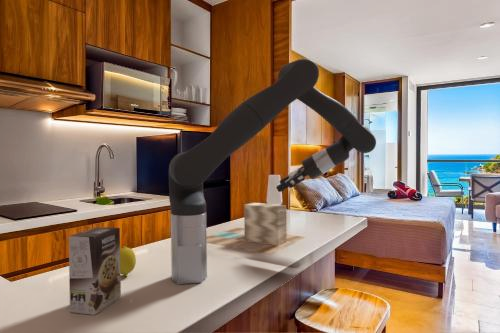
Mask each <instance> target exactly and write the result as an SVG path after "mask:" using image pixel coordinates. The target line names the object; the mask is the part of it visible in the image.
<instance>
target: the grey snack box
mask: <svg viewBox="0 0 500 333" xmlns="http://www.w3.org/2000/svg"><path fill="white" fill-rule="evenodd" d="M120 229H121V228H120V227H109V226H108V227H106V226H105V227H104V226H103V227H93V228H90V229H87V230H84V231H80V232H78V233H73V234H70V235H68V257H69V258H68V263H69V264H68V265H69V266H68V267H69V269H68V270H69V271H68V272H69V273H68V274H69V275H68V276H69V278H68V279H69V284H68V285H69V312H70V313H76V314H85V315H91V316H94V315H97V314H99V313H100V312H101V311H103V310H104V309H106V308H107V307H108V306H110V305H112V304H113V303H115V301H118V300H119V299H120V298H121V297H122V291H121V289H122V288H121V284H122V283H121V279H122V278H121V274H120V249H121V238H120V235H121V234H120V233H121V232H120V231H121V230H120Z"/></svg>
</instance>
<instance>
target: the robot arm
mask: <svg viewBox="0 0 500 333" xmlns="http://www.w3.org/2000/svg"><path fill="white" fill-rule="evenodd" d="M319 76H320V70H319V66H318V65H317V64H316V62H314V61H313V60H311V59H308V58H299V59H296V60H293V61H291V62H288V63H286V64H284V65H283V66H282V67H281V68H280V69H279V71H278V75H277V80H276V81H275V82H274V83H273V84H270V86H267V87H266V88H264V89H261V90H260V91H259V92H257V93H254V94H253V95H252V96H250V97H248V98H246V99H245V100H244V101H242V102H241V103H240V104H239V105H238V106H236V107H235V108H234V109H233V110H232V111H230V113H228V114H227V115H226V116H225V117H224V118H223V120H221V121H220V123H219V124H218V125H217V127H216V128H215V129H214V130H213V132H211V133H210V135H209V136H207V137H206V138H205V139H204V140H202V141H201V142H199V143H198V144H196V145H195V146H193V147H192V148H190V149H189V150H187V151H185V152H180V153H177V154H175V155H174V156H173V158H172V159H170V163H169V165H168V194H169V196H168V198H169V204H170V206H169V207H170V247H171V249H170V256H171V257H170V258H171V259H170V260H171V262H170V263H171V264H170V265H171V280H172V282H175V283H176V285H185V284H196V283H203V281H204V280H205V279H206V278H207V277H208V261H207V260H208V258H207V256H208V254H207V246H208V245H207V244H208V243H207V241H206V237H207V202H206V199H205V194H204V182H205V181H206V180H208V178H209V177H210V176H211V175H212V174H213V173H214V172H215V170H216V169H217V168H218V167H219V166H220V165H221V164H222V163H223V162H224V161H225V160H226V159H227V158H229V157H230V156H231V155H232V154H234V153H235V152H236V151H238V150H239V149H240V148H242V147H243V146H244V145H246V143H248V142H249V141H251V140H252V139H253V138H254V137H256V136H257V135H258V134H259V133H261V131H263V130H264V128H266V127H267V126H268V124H269V123H271V122H272V121H273V120H274V119H276V117H278V116H279V115H280V114H281V113H282V112H283V111H284V110H285V109H286V108H287V107H288V106H289V105H290V104H292V103H293V102H295V101H296V100H298V101H300V102H301V103H303V104H304V105H306V106H307V107H309V109H311V110H312V111H314V112H315V113H316V114H318V116H320V117H321V118H323V119H324V120H325V121H326V122H327V123H328V124H329V125H331V127H332V128H334V129H335V130H336V131H337V132H338V133H339V134H341V135H342V136H341V137H339V139H338V140H337V141H335V142H333V143H332V144H330V145H328V146H327V147H325V148H323V149H321V150H319V151H317V152H315V153H314V154H312V155H310V156H307V158H304V159H303V160H302V161H301V166H300V167H298V168H297V169H295V170H293V171H291V172H290V173H289V174H288V175H287V176H285V177H283V178H282V179H280V185H278V186H277V187H276V188H277V190H278V191H279V192H281V191H282V192H283V191H284V190H286V189H288V188H289V189H291V188H293V187H294V186H296V185H299V183H301V182H303V181H305V178H306V177H309V178H310V179H311V180H316V179H317V178H319V177H320V176H322V175H324V174H325V173H327V172H329V171H331V170H332V169H333V168H335V167H336V166H339V165H340V164H343V163H344V162H345V161H347V160H348V159H349V158H350V152H351V151H352V150H353V149H354V150H355V151H357V152H358V153H361V154H369V153H370V152H373V151H374V150H375V148H376V147H377V140H376V137H375V135H374V134H373V133H372V132H371V130H370V129H369V128H368V127H367V126H366V125H363V124H362V123H360V122H359V120H358V119H357V118H356V116H355V115H354V114H353V113H352V112H351V111H350V110H349V109H348V108H347V107H346V106H345V105H344V104H342V103H341V102H340V101H337V100H336V99H334V98H332V97H331V96H328V95H326V94H325V93H323V92H321V91H320V90H319V89H317V87H315V86H316V84H317V83H318V80H319Z"/></svg>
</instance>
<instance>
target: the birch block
mask: <svg viewBox="0 0 500 333" xmlns="http://www.w3.org/2000/svg"><path fill="white" fill-rule="evenodd" d="M243 206H244V208H243V210H244V212H243V214H244V219H243V220H244V221H243V222H244V228H245V231H244V235H245V240H247V241H253V242H259V243H265V244H271V245H277V246H279V245H281V244H283V243H285V242H287V239H286V234H287V205H286V204H285V205H284V204H281V205H275V204H267V203H262V202H250V203H245V204H243ZM253 242H252V243H253ZM259 243H258V244H259ZM265 244H264V245H265Z"/></svg>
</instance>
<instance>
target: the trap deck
mask: <svg viewBox="0 0 500 333" xmlns="http://www.w3.org/2000/svg"><path fill="white" fill-rule="evenodd" d="M241 232H245V227H244V228H243V227H234V228H231V229H228V230H224V231H221V232H217V233H214V234H212V235H209V236H206V241H207V244H212V245H218V246H223V247H229V248H235V249H239V250H244V251H249V252H257V253H259V254H267V255H273V254H275V253H277V252H279V251H281V250H283V249H285V248H288V247H289V246H291V245H294V244H296V243H298V242H299V241H301V240H303V239H306V236H299V235H295V234H287V233H286V239H287V242H285V243H283V244H281V245H279V246H277V245H271V244H265V243H259V242H253V241H247V240H245V233H241ZM245 243H254V244H260V245H263V246H260V247H258V248H256V249H250V248H244V247H239V246H240V245H242V244H245Z"/></svg>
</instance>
